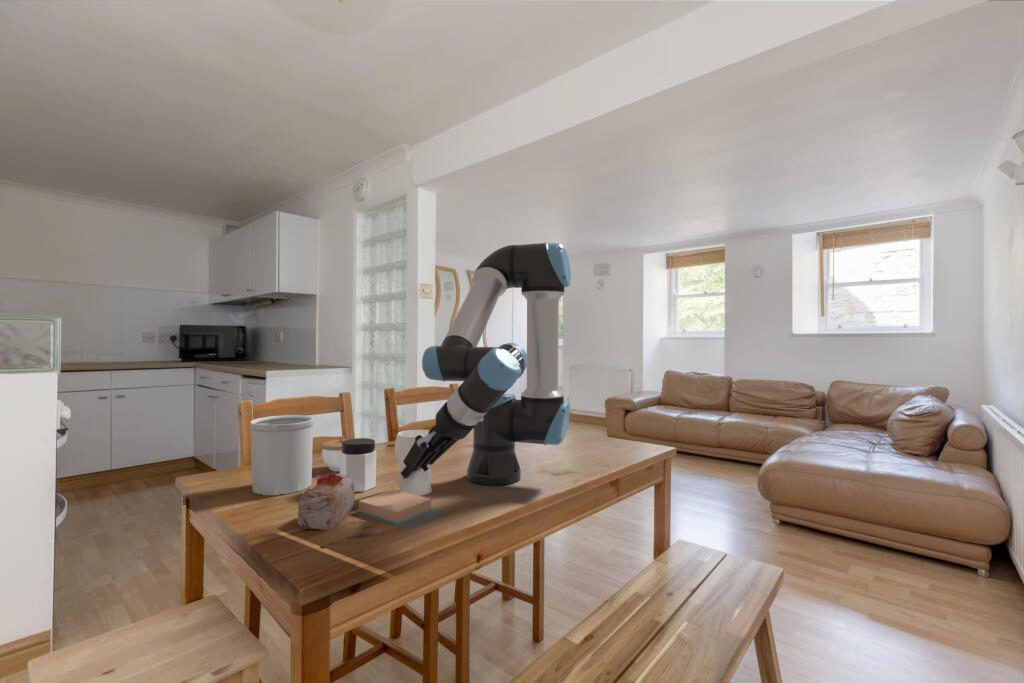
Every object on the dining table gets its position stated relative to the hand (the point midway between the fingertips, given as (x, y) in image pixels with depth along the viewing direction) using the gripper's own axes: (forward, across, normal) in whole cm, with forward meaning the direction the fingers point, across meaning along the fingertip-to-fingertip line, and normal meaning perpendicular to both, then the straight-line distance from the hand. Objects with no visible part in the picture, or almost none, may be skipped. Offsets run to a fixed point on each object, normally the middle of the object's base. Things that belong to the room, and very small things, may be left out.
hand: (400, 483), depth 102 cm
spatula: (+4, -14, -6) cm, 16 cm away
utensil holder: (+33, -3, +23) cm, 40 cm away
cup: (+11, +13, 0) cm, 17 cm away
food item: (+12, -11, +2) cm, 16 cm away
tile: (+1, 0, -7) cm, 7 cm away
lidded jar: (+35, +18, +25) cm, 47 cm away
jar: (+22, +8, +12) cm, 26 cm away
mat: (+5, 0, -5) cm, 7 cm away
